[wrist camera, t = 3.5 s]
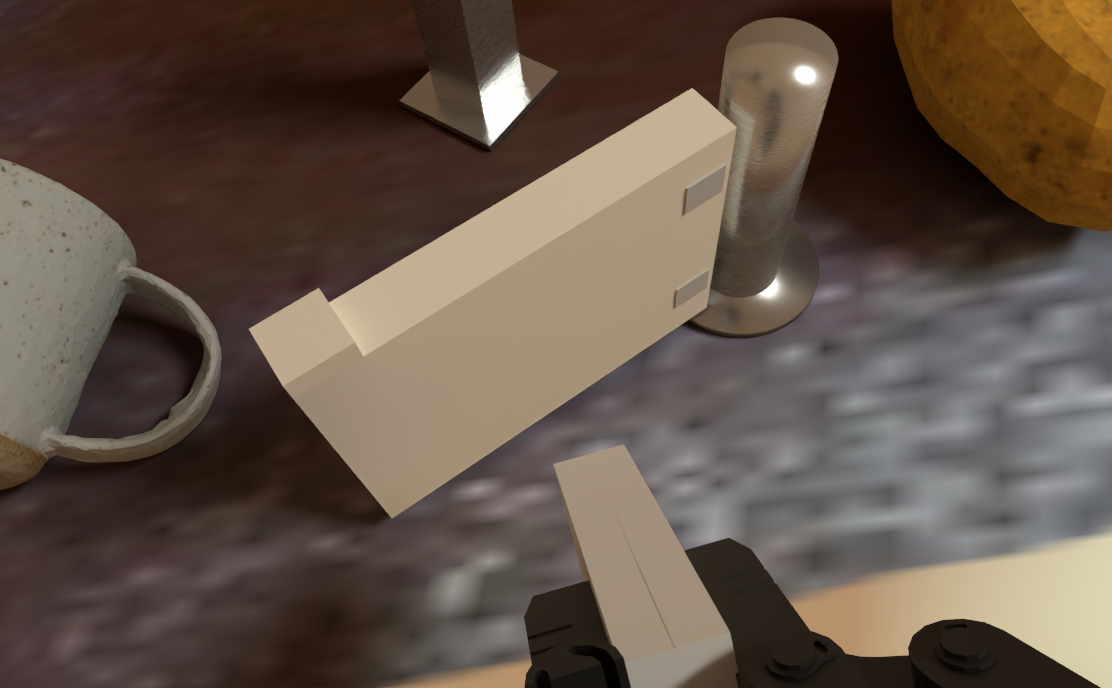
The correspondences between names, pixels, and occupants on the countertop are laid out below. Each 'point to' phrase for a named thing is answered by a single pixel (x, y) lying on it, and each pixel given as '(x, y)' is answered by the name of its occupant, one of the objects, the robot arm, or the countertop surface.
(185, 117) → the countertop surface
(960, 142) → the potato
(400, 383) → the gate
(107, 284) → the ceramic mug
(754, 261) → the gate posts
